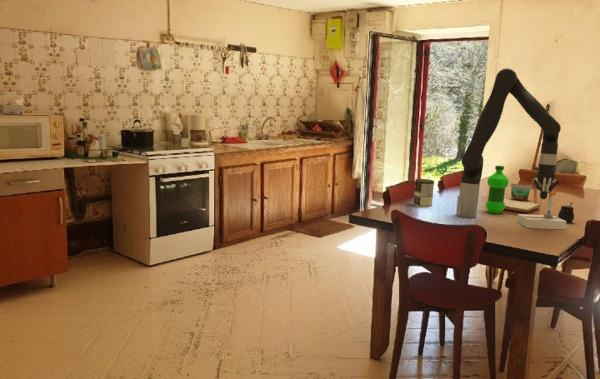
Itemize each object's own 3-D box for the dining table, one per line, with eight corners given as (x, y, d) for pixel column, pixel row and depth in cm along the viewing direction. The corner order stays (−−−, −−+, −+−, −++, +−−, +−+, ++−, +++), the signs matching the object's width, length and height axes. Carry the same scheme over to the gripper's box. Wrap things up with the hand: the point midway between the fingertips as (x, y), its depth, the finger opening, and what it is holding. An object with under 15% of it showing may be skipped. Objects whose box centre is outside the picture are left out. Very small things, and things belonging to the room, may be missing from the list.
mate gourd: (555, 221, 262) (557, 202, 260) (560, 219, 267) (563, 200, 265) (570, 224, 257) (573, 204, 255) (575, 222, 262) (578, 203, 260)
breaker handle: (547, 218, 248) (550, 190, 245) (542, 216, 252) (546, 189, 250) (553, 218, 248) (557, 191, 245) (548, 216, 252) (552, 189, 250)
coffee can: (410, 205, 285) (412, 180, 283) (416, 202, 294) (418, 178, 291) (428, 208, 280) (431, 182, 277) (434, 205, 289) (436, 180, 286)
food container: (510, 200, 314) (512, 184, 313) (508, 198, 320) (510, 182, 319) (531, 202, 312) (533, 186, 310) (529, 200, 318) (532, 184, 316)
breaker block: (527, 227, 244) (528, 219, 244) (516, 221, 256) (517, 213, 256) (565, 229, 245) (566, 221, 244) (552, 223, 257) (553, 215, 256)
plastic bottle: (506, 212, 279) (511, 166, 275) (502, 215, 270) (508, 168, 266) (486, 209, 284) (491, 164, 279) (482, 212, 275) (487, 165, 270)
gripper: (557, 162, 249) (552, 198, 252) (530, 161, 249) (525, 197, 252) (565, 164, 241) (560, 201, 244) (537, 163, 241) (532, 199, 244)
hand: (543, 198), depth 248 cm, fingers closed
